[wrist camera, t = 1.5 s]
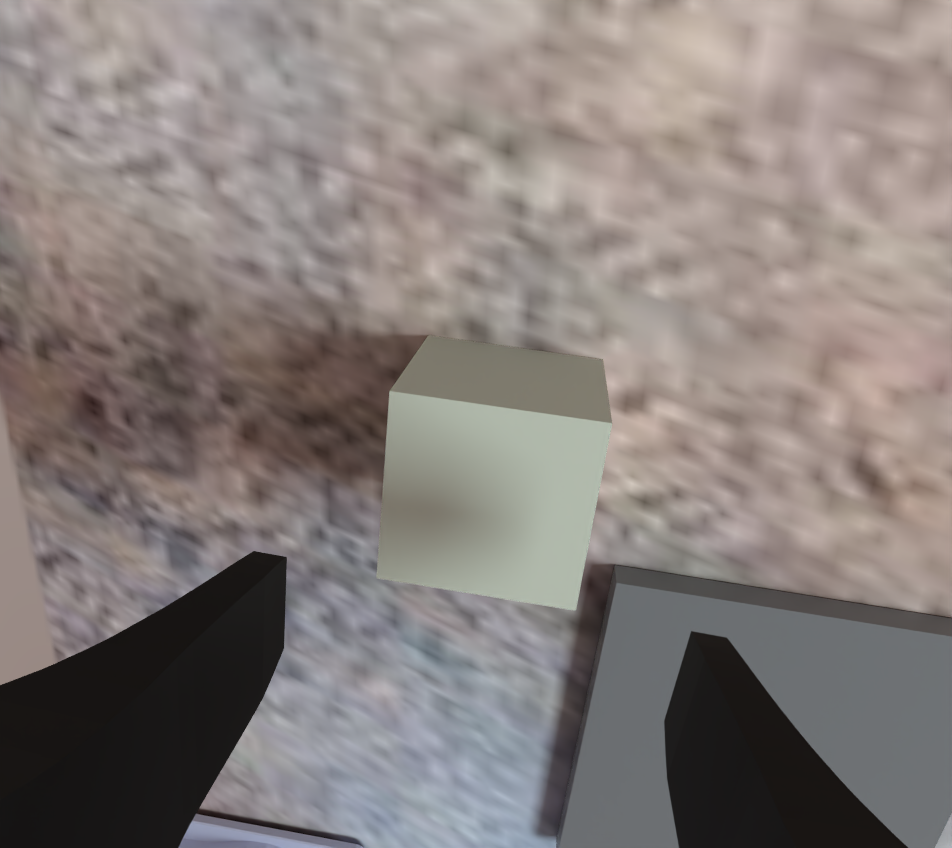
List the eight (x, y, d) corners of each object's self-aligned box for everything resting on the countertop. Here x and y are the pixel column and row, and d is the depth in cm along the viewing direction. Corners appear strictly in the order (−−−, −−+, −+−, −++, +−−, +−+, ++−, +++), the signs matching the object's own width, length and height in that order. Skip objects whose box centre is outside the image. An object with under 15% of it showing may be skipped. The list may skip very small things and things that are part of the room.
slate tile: (556, 837, 28) (556, 861, 27) (614, 565, 23) (616, 582, 22) (885, 897, 27) (896, 925, 26) (1012, 627, 22) (1031, 649, 21)
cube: (415, 488, 23) (376, 577, 18) (428, 334, 21) (389, 391, 17) (574, 513, 23) (575, 610, 18) (602, 358, 21) (611, 423, 16)
